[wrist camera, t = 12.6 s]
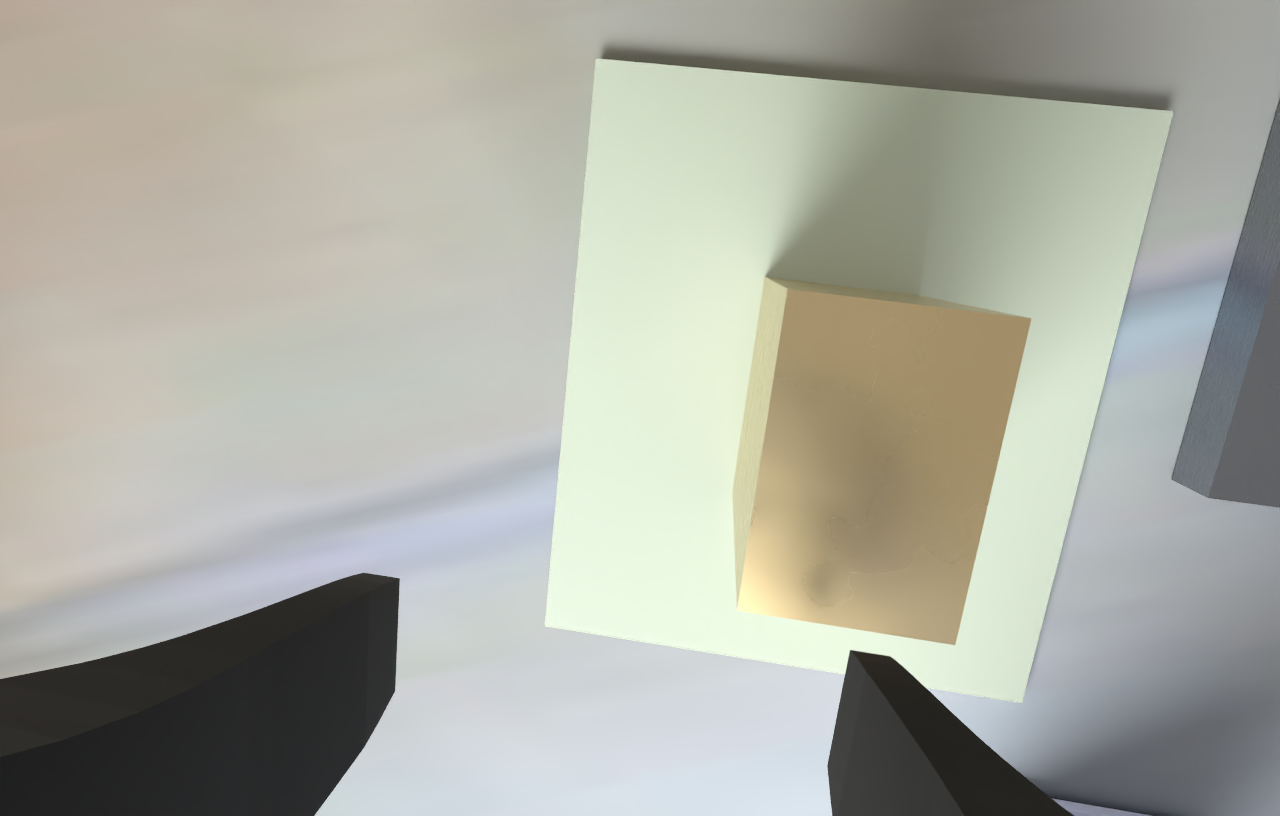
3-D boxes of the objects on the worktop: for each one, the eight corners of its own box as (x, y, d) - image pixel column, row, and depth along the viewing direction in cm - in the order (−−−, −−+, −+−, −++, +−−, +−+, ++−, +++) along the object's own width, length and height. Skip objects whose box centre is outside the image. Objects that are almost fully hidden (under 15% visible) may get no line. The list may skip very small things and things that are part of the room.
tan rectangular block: (876, 512, 20) (955, 645, 13) (732, 491, 20) (737, 610, 14) (919, 295, 19) (1031, 318, 12) (764, 276, 19) (787, 288, 12)
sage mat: (1016, 694, 21) (1022, 703, 21) (547, 619, 22) (544, 626, 22) (1163, 114, 18) (1174, 111, 17) (598, 62, 19) (595, 58, 18)
